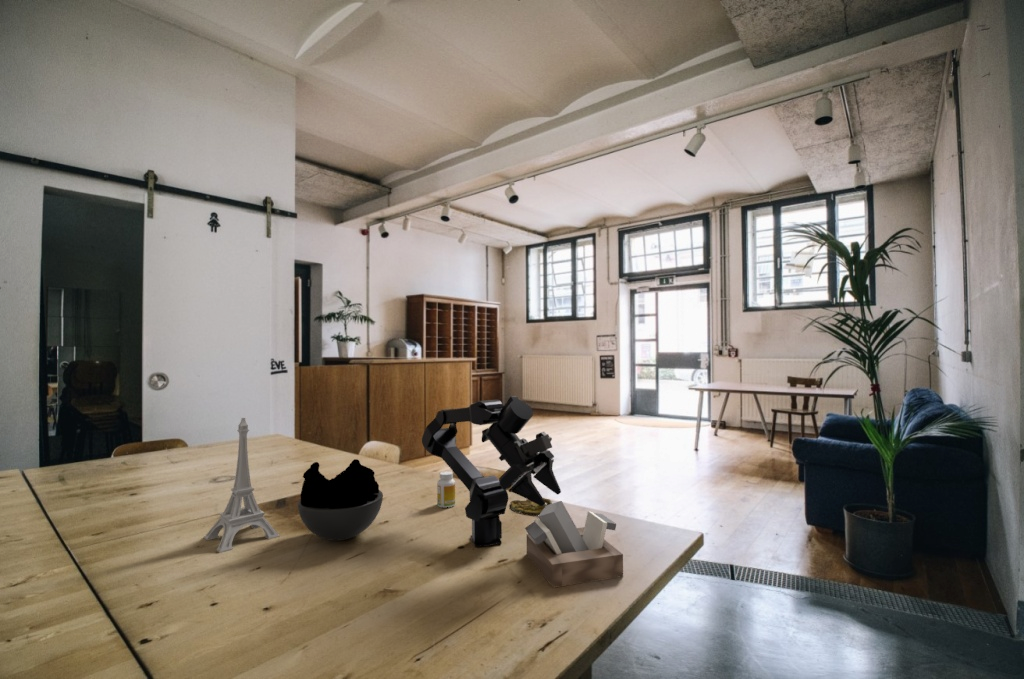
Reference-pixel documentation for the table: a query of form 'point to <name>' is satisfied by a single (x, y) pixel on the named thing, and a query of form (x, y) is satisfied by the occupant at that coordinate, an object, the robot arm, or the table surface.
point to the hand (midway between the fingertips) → (552, 498)
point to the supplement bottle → (446, 490)
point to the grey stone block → (562, 528)
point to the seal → (528, 506)
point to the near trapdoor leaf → (542, 535)
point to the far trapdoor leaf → (596, 530)
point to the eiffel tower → (233, 512)
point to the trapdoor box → (576, 563)
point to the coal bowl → (339, 501)
